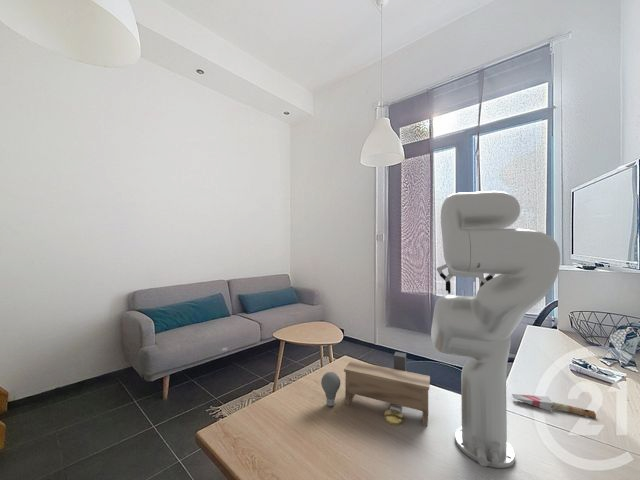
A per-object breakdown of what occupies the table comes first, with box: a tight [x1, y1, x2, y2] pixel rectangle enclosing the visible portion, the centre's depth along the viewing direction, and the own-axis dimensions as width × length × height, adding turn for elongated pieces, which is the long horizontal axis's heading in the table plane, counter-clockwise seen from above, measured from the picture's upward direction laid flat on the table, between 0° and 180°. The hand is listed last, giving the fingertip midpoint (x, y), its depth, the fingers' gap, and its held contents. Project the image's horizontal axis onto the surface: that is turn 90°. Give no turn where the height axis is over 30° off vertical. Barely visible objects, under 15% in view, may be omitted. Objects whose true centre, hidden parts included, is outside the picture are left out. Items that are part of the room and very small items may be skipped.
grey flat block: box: [389, 351, 407, 414], centre depth 83 cm, size 12×4×14 cm, turn 155°
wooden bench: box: [343, 360, 431, 427], centre depth 81 cm, size 7×25×11 cm, turn 65°
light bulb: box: [320, 371, 341, 407], centre depth 82 cm, size 6×6×10 cm
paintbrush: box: [511, 393, 597, 419], centre depth 81 cm, size 4×3×20 cm
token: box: [383, 409, 403, 427], centre depth 75 cm, size 5×5×2 cm
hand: (465, 294), depth 87 cm, fingers open, 9 cm apart
